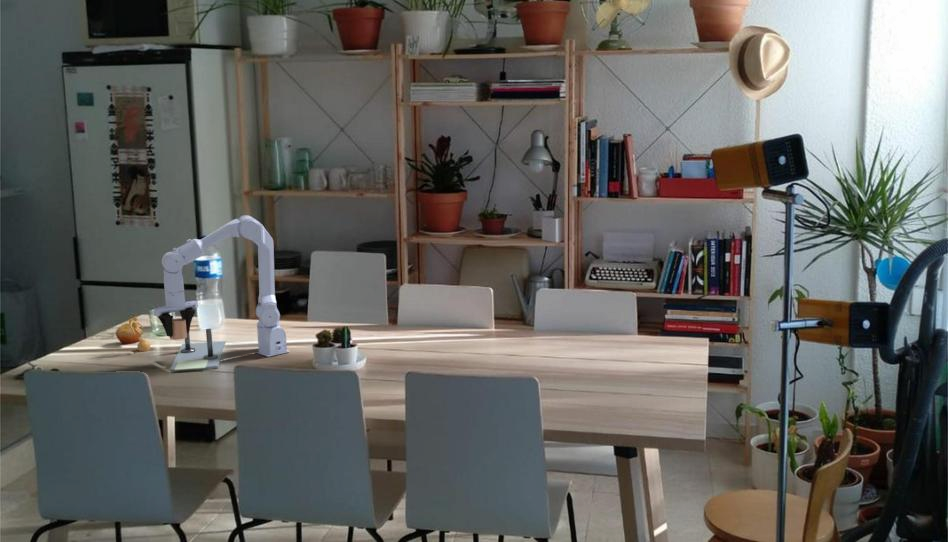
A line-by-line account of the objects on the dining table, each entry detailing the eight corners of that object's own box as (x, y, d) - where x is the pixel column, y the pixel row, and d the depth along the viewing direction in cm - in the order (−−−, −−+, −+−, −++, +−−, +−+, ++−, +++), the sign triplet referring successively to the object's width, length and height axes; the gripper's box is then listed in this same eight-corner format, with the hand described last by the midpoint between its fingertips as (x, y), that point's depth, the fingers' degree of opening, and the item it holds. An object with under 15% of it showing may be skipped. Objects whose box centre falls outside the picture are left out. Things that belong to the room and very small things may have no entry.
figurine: (146, 355, 325) (143, 319, 323) (127, 356, 325) (124, 319, 323) (154, 348, 333) (151, 313, 331) (136, 349, 333) (132, 313, 331)
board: (182, 346, 335) (182, 343, 335) (226, 343, 337) (225, 341, 337) (170, 371, 306) (169, 369, 306) (217, 368, 308) (217, 365, 308)
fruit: (148, 335, 346) (141, 318, 341) (141, 352, 340) (134, 335, 335) (125, 335, 347) (118, 318, 341) (117, 352, 341) (110, 335, 336)
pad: (178, 362, 314) (178, 361, 314) (208, 360, 315) (208, 359, 315) (174, 370, 305) (174, 369, 305) (205, 368, 306) (205, 367, 306)
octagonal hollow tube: (185, 334, 318) (184, 317, 317) (187, 338, 314) (186, 321, 313) (169, 336, 316) (167, 319, 315) (170, 340, 312) (169, 322, 311)
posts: (178, 351, 326) (176, 323, 324) (190, 348, 329) (188, 320, 327) (208, 360, 314) (206, 331, 313) (220, 357, 318) (218, 328, 316)
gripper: (187, 285, 320) (190, 327, 323) (146, 293, 309) (150, 337, 312) (200, 288, 316) (203, 330, 318) (159, 296, 305) (163, 340, 307)
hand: (178, 334), depth 315 cm, fingers closed on octagonal hollow tube, 5 cm apart
